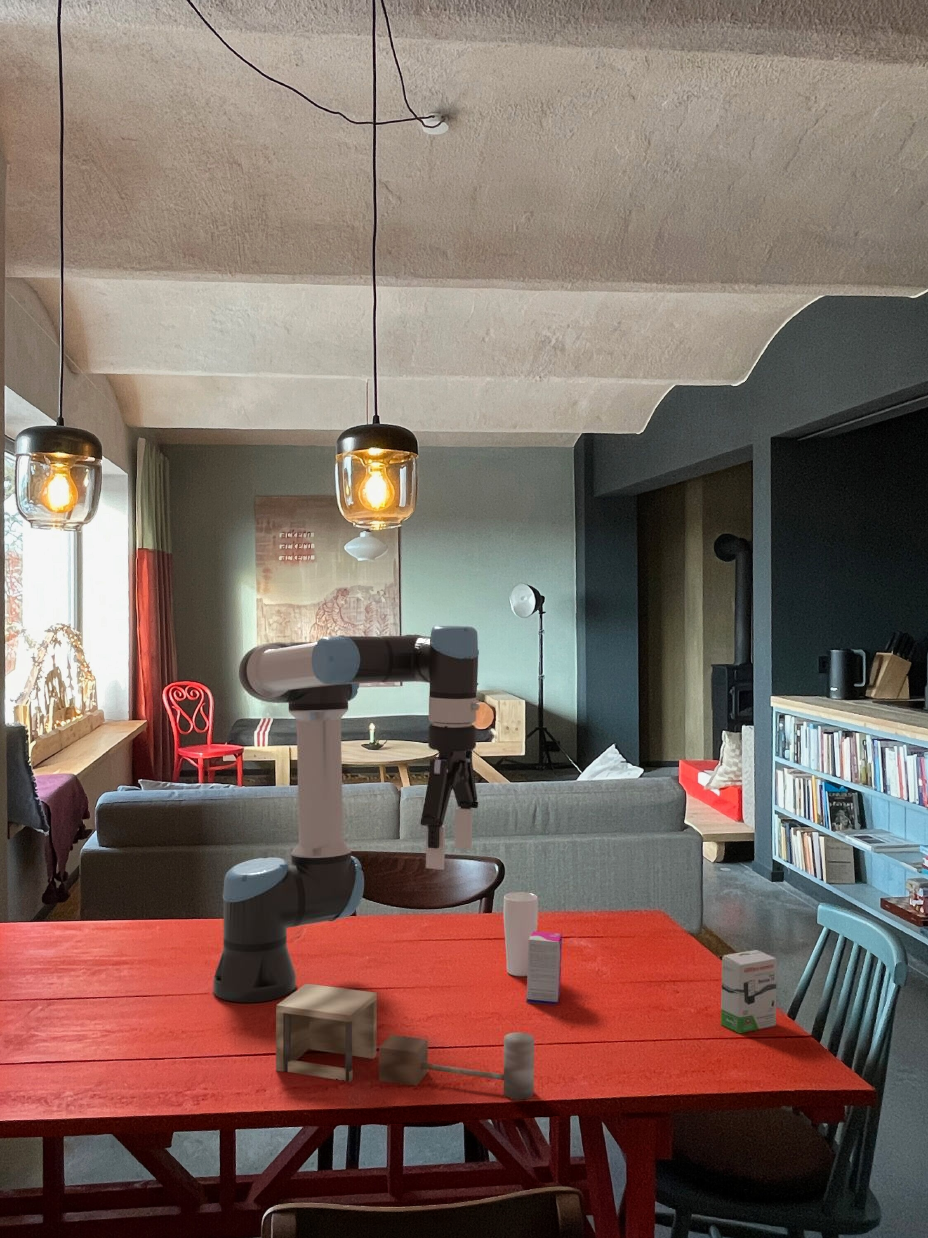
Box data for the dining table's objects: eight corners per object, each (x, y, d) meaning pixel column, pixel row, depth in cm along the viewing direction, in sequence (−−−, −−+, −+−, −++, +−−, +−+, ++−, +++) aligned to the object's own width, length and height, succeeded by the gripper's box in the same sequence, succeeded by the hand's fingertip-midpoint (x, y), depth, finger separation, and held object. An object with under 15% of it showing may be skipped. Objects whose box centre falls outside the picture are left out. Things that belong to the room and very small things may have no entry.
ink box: (739, 1035, 174) (739, 964, 174) (719, 1024, 179) (719, 955, 179) (778, 1026, 178) (778, 956, 178) (757, 1016, 183) (758, 948, 183)
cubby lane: (275, 1070, 159) (276, 1005, 159) (305, 1045, 169) (306, 983, 169) (349, 1082, 155) (350, 1015, 155) (376, 1056, 165) (376, 993, 165)
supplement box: (558, 1005, 187) (559, 942, 187) (525, 1003, 188) (526, 939, 188) (562, 994, 193) (562, 932, 193) (530, 991, 194) (530, 930, 194)
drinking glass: (498, 976, 202) (498, 899, 202) (509, 965, 208) (510, 890, 208) (531, 980, 199) (531, 902, 199) (541, 970, 206) (542, 894, 206)
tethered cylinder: (378, 1080, 156) (379, 1027, 156) (390, 1067, 161) (391, 1015, 161) (529, 1103, 149) (529, 1047, 149) (537, 1088, 154) (537, 1034, 154)
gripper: (449, 734, 150) (446, 880, 151) (497, 717, 174) (494, 843, 175) (401, 731, 153) (398, 875, 153) (455, 714, 176) (452, 838, 177)
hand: (449, 858), depth 164 cm, fingers open, 13 cm apart
